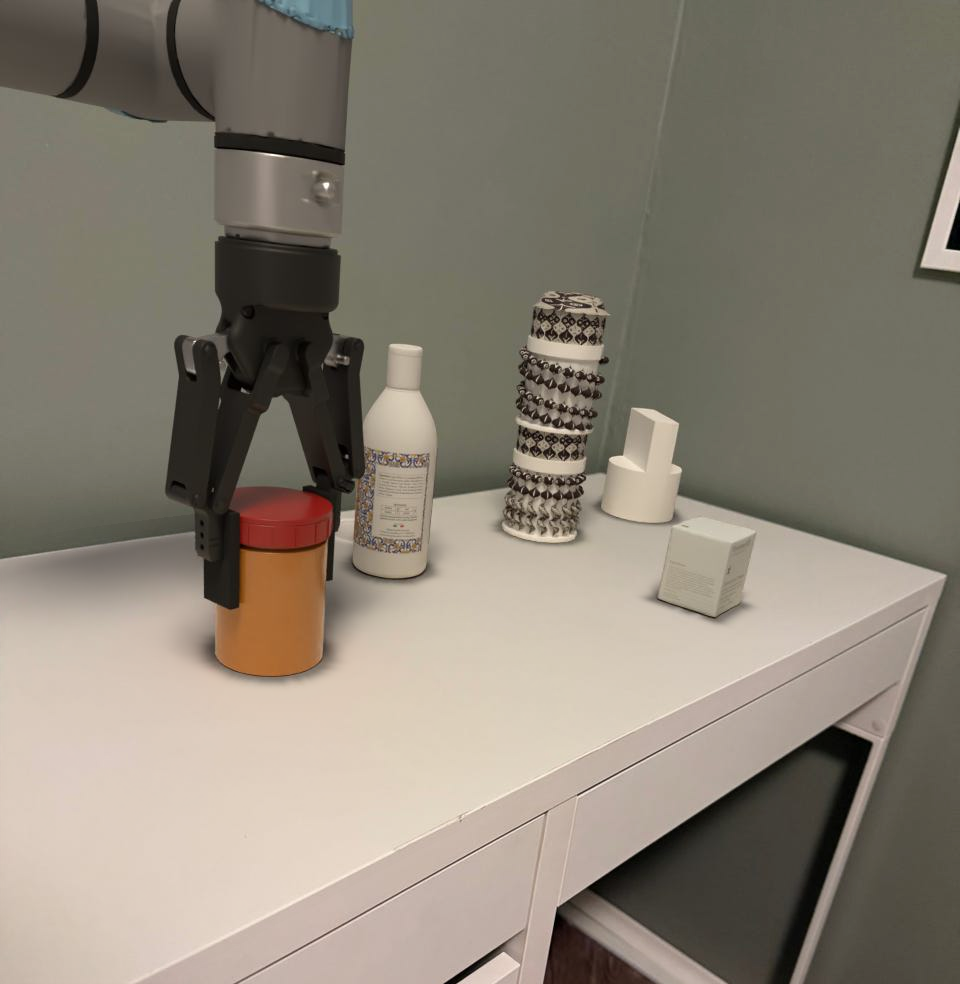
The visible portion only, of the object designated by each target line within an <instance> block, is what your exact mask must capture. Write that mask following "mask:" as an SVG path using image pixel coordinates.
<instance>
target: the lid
mask: <svg viewBox="0 0 960 984" xmlns="http://www.w3.org/2000/svg"><path fill="white" fill-rule="evenodd" d="M228 509H231V510H233V511H236V512H239V513H240V544H244V545H249V546H256V547H265V548H296V547H304V546H310V545H314V544H317V543H320V542H323V541H324V540H326V539H327V538H329V536H330V535H331V531H332V527H333V513H332V504H331V503H330V502H329V501H328V500H327V499H325V498H323V497H321V496H319V495H316V494H313V493H310V492H306V491H302V490H301V489H296V488H290V487H281V486H267V485H266V486H264V485H261V486H260V485H259V486H241V487H236V488H235V491H234V494H233V497H232V500H231V503H230V506H229V508H228Z"/></svg>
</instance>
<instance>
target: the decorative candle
mask: <svg viewBox="0 0 960 984" xmlns="http://www.w3.org/2000/svg"><path fill="white" fill-rule="evenodd" d="M531 306H533V309H532V317H531V324H530V325H531V326H530V333H529V335H527V342H526V344H525V345H524V346H523V347H522V348H520V349H519V352H518V353H519V355H520V357H521V359H522V360H523V361H522V362H521V363H519V364H518V366H517V369H518V373H519V374H520V375H521V376H523V378H524V379H522V380H520V382H519V383H518V384H517V385H516V390H517V392H518V394H519V397H518V398H516V399H515V408H516V409H517V410H519V411H520V413H519V414H518V415H517V416H515V417H514V422H515V423H516V424H517V425H518V429H517V435H516V443H515V447H514V448H513V452H512V453H513V454H512V463H510V464H509V465H508V470H509V473H510V474H511V475H512V476H510V477H509V478H507V480H506V483H507V487H508V488H509V489H510V490H509V491H508V492H507V493H506V494H505V496H504V502H505V505H506V506H505V507H504V508H503V510H502V515H503V517H504V520H503V521H502V523H501V527H502V529H503V531H504V532H506V533H508V534H509V535H510V536H514V537H517V538H520V539H522V540H527V541H532V542H538V543H548V544H549V543H551V544H552V543H553V544H557V543H567V542H570V541H573V540H575V539H576V538H577V536H578V531H577V530H576V529H577V527H578V525H580V519H579V514H580V513H581V512H582V509H583V508H582V503H581V501H580V500H579V499H578V498H581V497H582V496H583V495H584V494H585V490H584V488H583V486H582V484H583V483H584V482H585V481H587V475H586V473H585V472H584V471H585V470H586V465H587V456H586V450H587V446H588V437H589V435H590V434H592V433H593V432H594V430H595V427H594V425H592V423H591V422H590V421H592V420H594V419H596V418H597V417H598V416H599V414H598V413H599V412H598V411H596V410H595V408H593V402H595V401H597V400H599V399H602V397H603V393H602V392H601V391H600V390H599V389H598V388H596V387H597V386H600V385H603V384H604V383H605V382H606V379H605V377H604V375H602V374H601V373H600V372H598V370H599V369H598V368H599V367H603V366H605V365H607V364H608V363H610V359H609V357H608V356H604V349H605V344H604V336H605V332H606V322H607V318H608V316H611V313H608V312H607V310H606V308H605V305H604V302H603V300H602V299H601V298H600V297H599V296H596V295H592V294H586V293H579V292H570V291H563V290H561V291H560V290H548V291H546V292H544V293H543V294H542V296H541V297H540V299H539V300H538V301H537V302H536V303H534V304H531Z"/></svg>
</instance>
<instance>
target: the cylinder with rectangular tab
mask: <svg viewBox="0 0 960 984" xmlns="http://www.w3.org/2000/svg"><path fill="white" fill-rule="evenodd" d="M679 428H680V423H679V422H677V421H675V419H674V420H673V419H672V418H670V417H668V416H667V415H665V414H664V413H663V414H662V413H661V412H660V411H657V410H656V409H654V408H653V409H652V408H643V407H631V408H630V413H629V419H628V424H627V430H626V436H625V440H624V441H625V442H624V447H623V453H622V455H615V456H611V457H609V459H608V463H607V468H606V473H605V481H604V486H603V492H602V498H601V505H600V508H601V510H602V511H603V512H604V513H606V514H608V515H611V516H612V517H616V518H619V519H622V520H627V521H631V522H637V523H646V524H647V523H648V524H661V523H667V522H670V521H672V520H673V517H674V512H675V507H676V503H677V498H678V493H679V486H680V483H681V478H682V473H683V468H682V467H680V466H678V465H676V464H674V463H673V459H674V458H673V457H674V453H675V448H676V443H677V438H678V432H679Z"/></svg>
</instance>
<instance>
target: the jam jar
mask: <svg viewBox="0 0 960 984" xmlns="http://www.w3.org/2000/svg"><path fill="white" fill-rule="evenodd" d="M327 554H328V538H327V539H326V540H324V541H323V542H320V543H317V544H314V545H310V546H304V547H296V548H265V547H256V546H249V545H244V544H240V565H239V608H236V609H232V610H229V609H227V608H224V607H222V606H220V605H218V604H216V603H214V654H215V657H216V659H217V661H218V662H219V663H220V664H222V665H223V666H224V667H226V668H228V669H230V670H233V671H235V672H238V673H242V674H246V675H252V676H259V677H280V676H289V675H296V674H299V673H302V672H306V671H309V670H310V669H312V668H314V667H316V666H317V665H318V664H319V663H320V662H321V660H322V658H323V655H324V635H325V634H324V633H325V617H326V616H325V614H326V592H327V582H326V575H327Z"/></svg>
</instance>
